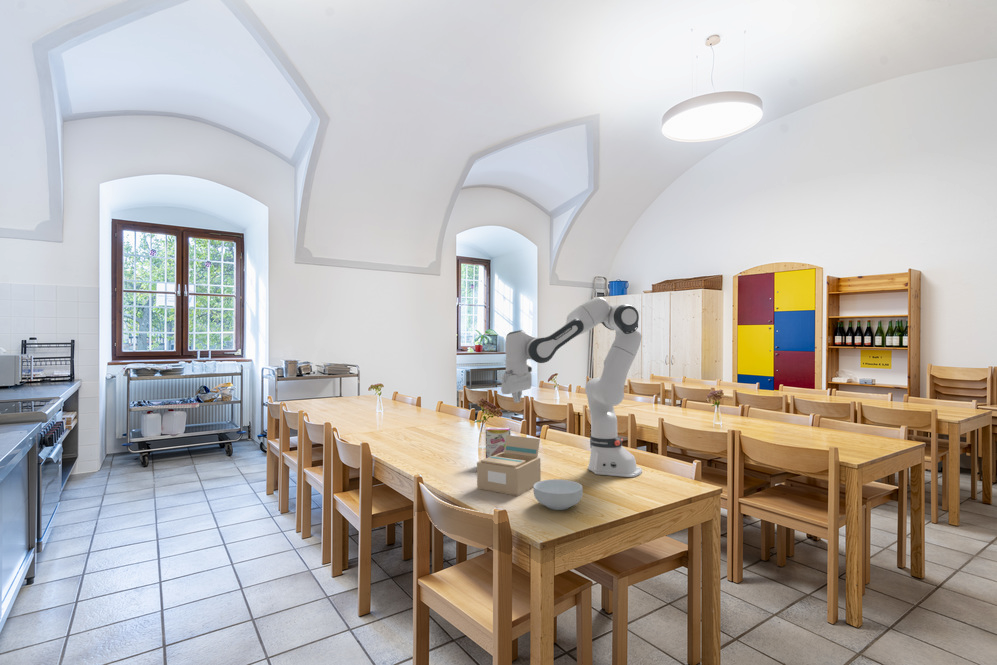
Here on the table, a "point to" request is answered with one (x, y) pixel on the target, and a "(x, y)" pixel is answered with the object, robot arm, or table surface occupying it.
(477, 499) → the table surface
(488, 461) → the flap
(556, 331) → the robot arm
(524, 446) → the cardboard box flap
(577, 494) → the cereal bowl
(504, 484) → the carton
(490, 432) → the candy bar box
